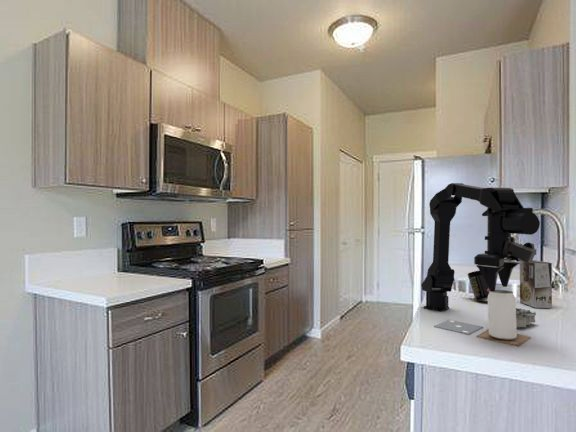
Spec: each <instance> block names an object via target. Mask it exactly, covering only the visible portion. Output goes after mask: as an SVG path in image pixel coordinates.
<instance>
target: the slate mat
mask: <svg viewBox="0 0 576 432" xmlns="http://www.w3.org/2000/svg"><path fill="white" fill-rule="evenodd" d="M433 327H434V328H438V329H441V330H446V331H450V332H454V333H459V334H463V335H466V336H470V335H472V334H474V333H476V332H478V331H480V330H482V329H484V326H482V325H477V324H472V323H468V322H463V321H459V320H453V319H447V320H445V321H442V322H440V323H437V324H436V325H433Z"/></svg>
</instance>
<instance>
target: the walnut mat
mask: <svg viewBox="0 0 576 432" xmlns="http://www.w3.org/2000/svg"><path fill="white" fill-rule="evenodd" d="M476 338H479V339H484V340H488V341H493V342H497V343H501V344H504V345H509V346H514V347H518V348H519V347H520V346H522V345H524V342H525V343H526V342H528V341H529V340H531V338H532V337H531V336H528V335H524V334H519V333H517V337H516V338H515V339H513V340H505V339H498V338H494V337H491V336H490V335H489V328H488V329H486V330H485V331H482V332H481V333H478V334H477V335H476Z"/></svg>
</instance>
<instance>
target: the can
mask: <svg viewBox="0 0 576 432" xmlns="http://www.w3.org/2000/svg"><path fill="white" fill-rule="evenodd" d="M489 291H490V290H489ZM516 308H517V304H516V296H515V294H514V291H511V290H506V289H505V290H504V289H495V291H490V293H489V295H488V299H487V319H488V321H487V322H488V329H489V335H490V336H491V337H494V338H498V339H505V340H513V339H515V338H516V337H517V334H518V333H517V327H516Z"/></svg>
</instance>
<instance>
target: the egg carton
mask: <svg viewBox="0 0 576 432" xmlns="http://www.w3.org/2000/svg"><path fill="white" fill-rule="evenodd" d="M536 316H537V312H536V311H533V312H532V311H530V309H524V308H520V307H519V308H518V307H516V328H526V327H527V326H530V325H531V323H533V324H534V323H536V318H535V317H536Z"/></svg>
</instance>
